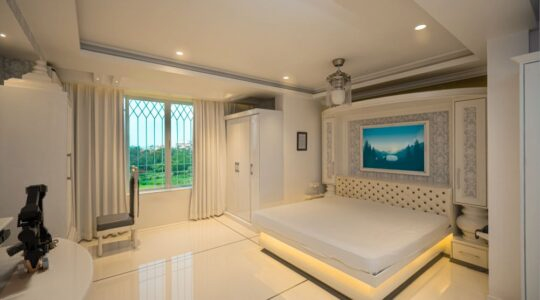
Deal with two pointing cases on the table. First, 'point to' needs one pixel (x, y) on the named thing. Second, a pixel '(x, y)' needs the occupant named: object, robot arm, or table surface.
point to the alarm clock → (53, 243)
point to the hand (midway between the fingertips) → (33, 266)
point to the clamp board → (33, 272)
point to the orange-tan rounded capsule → (31, 267)
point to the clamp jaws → (44, 263)
